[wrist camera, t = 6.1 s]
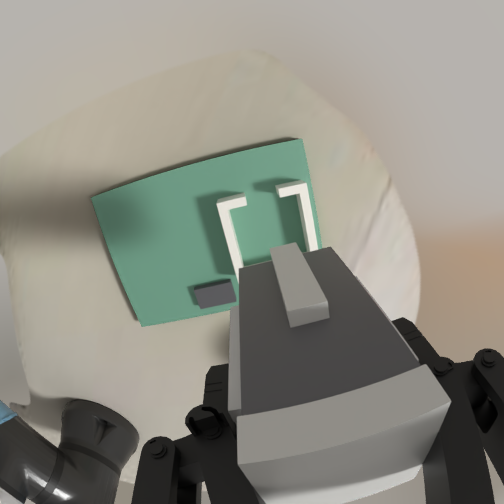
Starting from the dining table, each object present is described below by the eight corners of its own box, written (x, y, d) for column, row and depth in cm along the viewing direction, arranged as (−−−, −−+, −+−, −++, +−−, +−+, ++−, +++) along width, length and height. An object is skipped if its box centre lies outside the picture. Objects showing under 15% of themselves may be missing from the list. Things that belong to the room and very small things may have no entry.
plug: (258, 342, 17) (276, 517, 7) (233, 256, 15) (230, 452, 5) (341, 322, 17) (414, 478, 7) (330, 233, 15) (456, 385, 5)
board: (144, 321, 34) (138, 335, 31) (95, 195, 28) (83, 201, 25) (324, 281, 33) (332, 294, 30) (299, 138, 27) (306, 138, 25)
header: (238, 275, 31) (238, 284, 29) (217, 199, 28) (216, 203, 26) (315, 256, 31) (320, 265, 29) (301, 179, 28) (306, 182, 26)
